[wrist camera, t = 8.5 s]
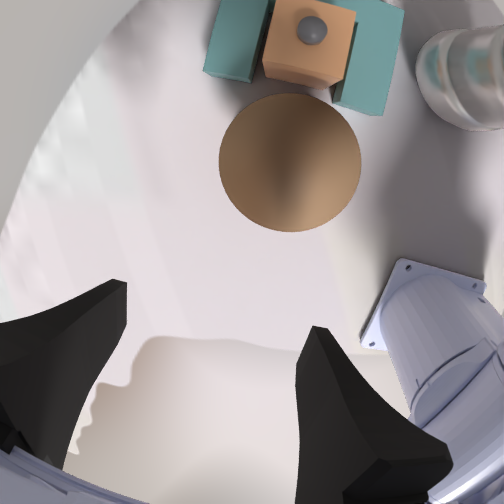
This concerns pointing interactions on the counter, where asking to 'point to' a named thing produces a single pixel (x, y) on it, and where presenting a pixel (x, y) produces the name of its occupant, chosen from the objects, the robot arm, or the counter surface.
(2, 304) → the counter surface
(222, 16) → the notch board
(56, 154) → the counter surface
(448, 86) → the plastic bottle
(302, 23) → the plug
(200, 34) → the counter surface
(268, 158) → the bobbin
